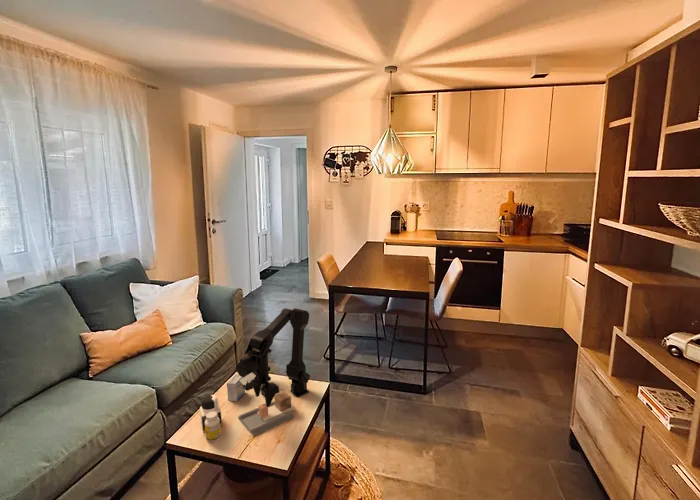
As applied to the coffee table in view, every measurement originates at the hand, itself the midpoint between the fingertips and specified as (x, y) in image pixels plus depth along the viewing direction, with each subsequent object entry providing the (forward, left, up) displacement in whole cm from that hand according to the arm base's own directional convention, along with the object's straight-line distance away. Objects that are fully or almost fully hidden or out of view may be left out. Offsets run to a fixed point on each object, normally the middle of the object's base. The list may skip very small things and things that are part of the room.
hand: (262, 401), depth 153 cm
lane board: (-1, 0, -8) cm, 8 cm away
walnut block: (-9, 0, -6) cm, 11 cm away
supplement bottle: (+20, -2, -8) cm, 22 cm away
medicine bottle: (+18, -10, -8) cm, 22 cm away
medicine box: (+2, -23, -8) cm, 25 cm away
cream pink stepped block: (-6, 0, -7) cm, 9 cm away
